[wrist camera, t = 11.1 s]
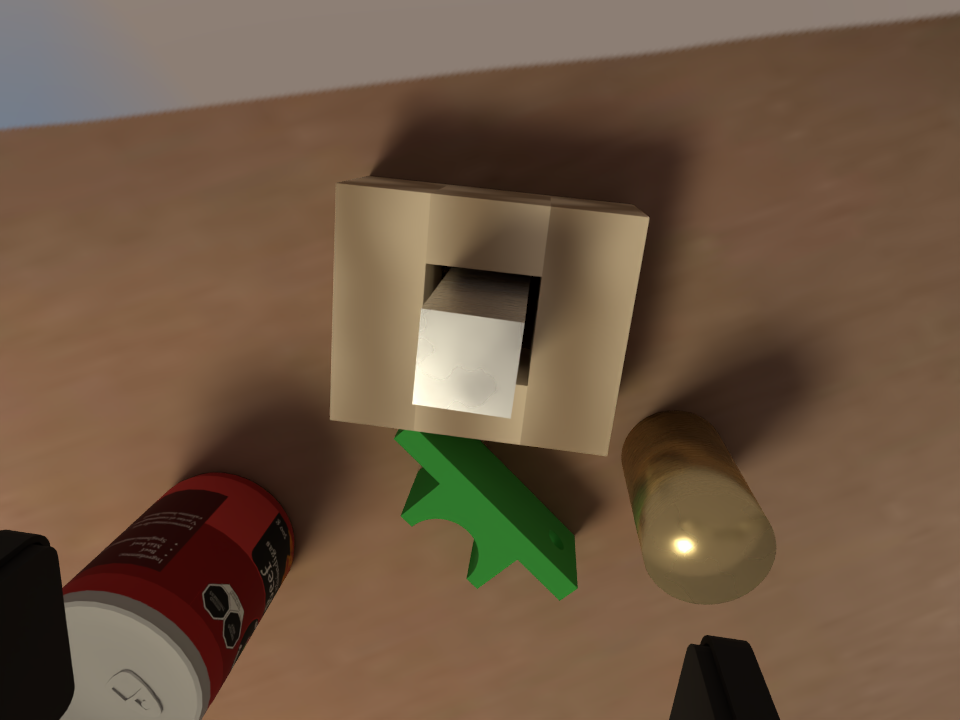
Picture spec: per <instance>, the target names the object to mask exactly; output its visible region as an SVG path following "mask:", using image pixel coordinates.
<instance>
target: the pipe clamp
mask: <svg viewBox="0 0 960 720" xmlns="http://www.w3.org/2000/svg"><path fill="white" fill-rule="evenodd" d="M394 439H395V440H396V441H397V442H398V443H399V444H400V445H401V446H402V447H403V448H404V449H405V450H406V451H407V452H408V453H409V454H410V455H411V456H412V457H413V458H414V459H415V460H416V461H417V462H418V463H419V464H420V465H421V466H422V467H423V468H422V469H420V470H419V471H418V473H417V476H416V478H415V481H414V483H413V486H412V488H411V491H410V493H409V496H408V499H407V501H406V504H405V506H404V509H403V511H402V514H401V517H402V518H403V519H404V520H405V521H406V522H408V523H409V524H410V525H411V526H414V525H415V524H417V523H419V522H421V521H424V520H428V519H445V520H449V521H452V522H455V523H457V524H459V525H460V526H462V527H463V528H465V529H466V530H467V531H468V532H469V533H470V534H471V535H472V537H473V538H474V542H473V547H472V552H471V558H470V563H469V568H468V574H467V580H468V581H470V582H471V583H472V584H473V585H474V586H475V587H476V588H477V589H478V588H479V587H480V586H482V585H483V584H485V583H486V582H487V581H489V580H490V579H491V578H493V577H494V576H495V575H497V574H498V573H500V572H501V571H502V570H504V569H505V568H506V567H508V566H509V565H511V564H512V563H513V562H515V561H516V560H519V561H520V562H521V563H522V564H523V565H524V566H525V567H526V568H527V569H528V570H529V571H530V572H531V573H532V574H533V575H534V576H535V577H536V578H537V579H538V580H539V581H540V582H541V583H542V584H543V585H544V586H545V587H546V588H547V589H548V590H549V591H550V592H551V593H552V594H553V595H554V596H555V597H556V598H557V599H558V600H559V601H560V600H561V599H563V598H564V597H566V596H567V595H569V594H570V593H572V592H573V591H574V590H576V589H577V588H578V586H577V570H576V554H575V537H574V535H573V534H572V533H571V532H570V531H569V530H568V529H567V528H566V527H565V526H564V525H563V524H562V523H561V522H560V521H559V520H558V519H557V518H556V517H555V516H554V515H553V514H552V513H551V512H550V511H549V510H548V509H547V508H546V507H545V506H544V504H543V503H542V502H541V501H540V500H539V499H538V498H537V497H536V496H535V495H534V494H533V493H532V492H531V491H530V490H529V489H528V488H527V487H526V486H525V485H524V484H523V483H522V482H521V481H520V480H519V479H518V478H517V477H516V476H515V475H514V474H513V473H512V472H511V471H510V470H509V469H508V468H507V467H506V466H505V465H504V464H503V463H502V462H501V461H500V460H499V459H498V458H497V457H496V456H495V455H494V454H493V453H492V452H491V451H490V450H489V449H488V448H487V447H486V446H485V445H484V444H483V443H482V442H481V441H480V440H479V439H472V438H464V437H457V436H449V435H442V434H434V433H426V432H419V431H411V430H404V429H399V430H398V432H397V434H396V436H395V438H394Z"/></svg>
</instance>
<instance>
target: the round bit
mask: <svg viewBox="0 0 960 720" xmlns="http://www.w3.org/2000/svg"><path fill="white" fill-rule="evenodd" d="M621 460H622V467H623V471H624V476H625V480H626V485H627V489H628V493H629V498H630V502H631V507H632V511H633V516H634V520H635V524H636V529H637V533H638V538H639V542H640V547H641V551H642V555H643V560H644V564H645V567H646V570H647V572H648V574H649V575H650V577H651V578H652V580H653V581H654V582H655V583H656V584H657V586H658V587H659V588H661V589H662V590H663V591H664V592H666V593H667V594H669V595H671V596H672V597H675V598H677V599H679V600H682V601H685V602H689V603H694V604H703V605H707V604H720V603H725V602H729V601H732V600H735V599H737V598H740V597H742V596H744V595H746V594H747V593H749V592H750V591H752V590H753V589H754V588H756V587H757V586H758V585H759V584H760V583H761V582H762V581H763V580H764V578H765V577H766V576H767V574H768V573H769V571H770V569H771V567H772V565H773V562H774V559H775V554H776V540H775V535H774V532H773V529H772V527H771V525H770V523H769V521H768V519H767V518H766V516H765V514H764V513H763V511H762V509H761V507H760V506H759V504H758V502H757V500H756V499H755V497H754V495H753V493H752V492H751V490H750V488H749V486H748V485H747V483H746V481H745V479H744V478H743V476H742V474H741V472H740V471H739V469H738V467H737V465H736V464H735V462H734V460H733V459H732V457H731V455H730V453H729V452H728V450H727V448H726V446H725V445H724V443H723V441H722V439H721V438H720V436H719V434H718V433H717V431H716V430H715V428H714V427H713V426H712V425H711V424H710V423H709V422H707V421H706V420H705V419H703V418H701V417H700V416H697V415H695V414H692V413H689V412H684V411H665V412H660V413H657V414H654V415H652V416H649V417H647V418H646V419H644V420H642V421H641V422H640V423H638V424H637V425H636V426H635V427H634V428H633V429H632V430H631V432H630V433H629V434H628V436H627V438H626V440H625V442H624V445H623V448H622V455H621Z"/></svg>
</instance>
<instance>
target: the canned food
mask: <svg viewBox="0 0 960 720" xmlns="http://www.w3.org/2000/svg"><path fill="white" fill-rule="evenodd" d="M293 554H294V534H293V528H292V525H291V523H290V520H289V518H288V516H287V514H286V513H285V511H284V509H283V508H282V506H281V505H280V504H279V503H278V501H277V500H276V499H275V498H274V497H273V496H272V495H271V494H270V493H268V492H267V491H266V490H265V489H263V488H262V487H261V486H259V485H257V484H255V483H254V482H252V481H250V480H248V479H245V478H243V477H240V476H237V475H233V474H228V473H206V474H200V475H197V476H195V477H192V478H189V479H187V480H184V481H182V482H179V483H178V484H177V485H175V486H174V487H172V488H171V489H170V490H169V491H167V492H166V493H165V494H164V495H163V496H162V497H161V498H160V499H159V500H158V501H157V502H155V503H154V504H153V505H152V506H151V507H150V508H149V509H148V510H147V511H146V512H145V513H144V514H142V515H141V516H140V517H139V518H138V519H137V520H136V521H135V522H134V523H133V524H132V525H130V526H129V527H128V528H127V529H126V530H125V531H124V532H123V533H122V534H121V535H120V536H119V537H117V538H116V539H115V540H114V541H113V542H112V543H111V544H110V545H109V546H108V547H107V548H105V549H104V550H103V551H102V552H101V553H100V554H99V555H98V556H97V557H96V558H95V559H94V560H92V561H91V562H90V563H89V564H88V565H87V566H86V567H85V568H84V569H83V570H82V571H80V572H79V573H78V574H77V575H76V576H75V577H74V578H73V579H72V580H71V581H70V582H68V583H67V584H66V585H65V586H64V587H63V588H62V590H63V598H64V606H65V613H66V621H67V629H68V636H69V644H70V652H71V659H72V667H73V675H74V683H75V691H74V695H73V698H72V701H71V704H70V705H69V707H68V709H67V711H66V712H65V713H64V715H63V716H62V717H61V718H60V720H201V719H202V718H203V716H204V714H205V713H206V711H207V709H208V708H209V706H210V705H211V703H212V702H213V700H214V699H215V697H216V695H217V693H218V692H219V690H220V688H221V687H222V685H223V683H224V682H225V680H226V678H227V676H228V675H229V673H230V671H231V670H232V668H233V666H234V665H235V663H236V661H237V659H238V658H239V656H240V654H241V653H242V651H243V649H244V647H245V646H246V644H247V642H248V641H249V639H250V637H251V636H252V634H253V632H254V630H255V629H256V627H257V625H258V624H259V622H260V620H261V618H262V617H263V615H264V613H265V612H266V610H267V608H268V607H269V605H270V603H271V601H272V600H273V598H274V596H275V595H276V593H277V591H278V590H279V588H280V586H281V584H282V583H283V581H284V579H285V578H286V576H287V574H288V572H289V571H290V568H291V564H292V561H293Z"/></svg>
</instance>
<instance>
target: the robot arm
mask: <svg viewBox="0 0 960 720" xmlns="http://www.w3.org/2000/svg"><path fill="white" fill-rule="evenodd" d="M74 691H75V683H74V675H73V667H72V659H71V652H70V644H69V636H68V629H67V621H66V613H65V606H64V598H63V590H62V583H61V575H60V567H59V560H58V554H57V551H56V550H55V549H54V548H53V547H51V546H50V543H49V541H48V539H47V538H46V537H45V536H42V535H38V534H31V533H25V532H18V531H11V530H1V531H0V720H60V718H61V717H62V716H63V715H64V713H65V712H66V711H67V709H68V707H69V705H70V704H71V701H72V698H73V695H74ZM669 720H780V718H779V716H778V713H777V710H776V708H775V705H774V703H773V700H772V698H771V695H770V693H769V690H768V688H767V685H766V683H765V680H764V677H763V675H762V672H761V670H760V667H759V665H758V662H757V660H756V657H755V655H754V652H753V650H752V648H751V646H750V644H749V643H748V642H747V641H743V640H736V639H730V638H723V637H716V636H710V635H706V636H704V637H703V639H702V641H701V644H700V645H696V644H690V645H689V646H688V648H687V651H686V655H685V659H684V663H683V667H682V671H681V675H680V679H679V683H678V687H677V691H676V695H675V699H674V703H673V707H672V711H671V715H670V719H669Z"/></svg>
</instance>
